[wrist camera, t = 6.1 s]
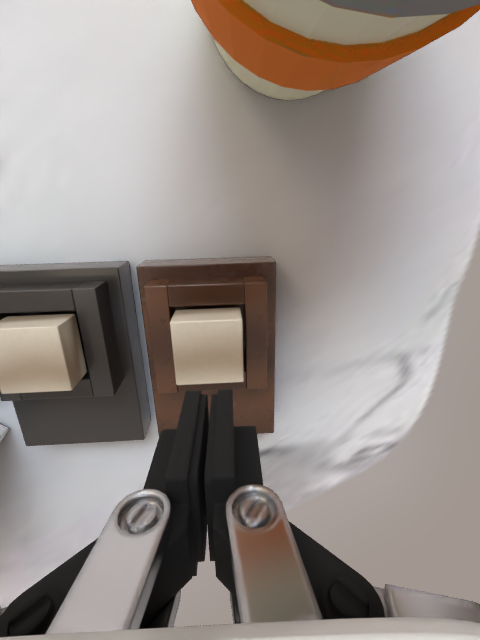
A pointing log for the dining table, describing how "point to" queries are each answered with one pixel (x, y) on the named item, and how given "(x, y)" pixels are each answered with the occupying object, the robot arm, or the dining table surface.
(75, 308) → the key block
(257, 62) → the reusable coffee cup
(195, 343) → the key
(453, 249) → the dining table surface
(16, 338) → the key
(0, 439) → the light bulb box
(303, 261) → the dining table surface
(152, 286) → the key block
